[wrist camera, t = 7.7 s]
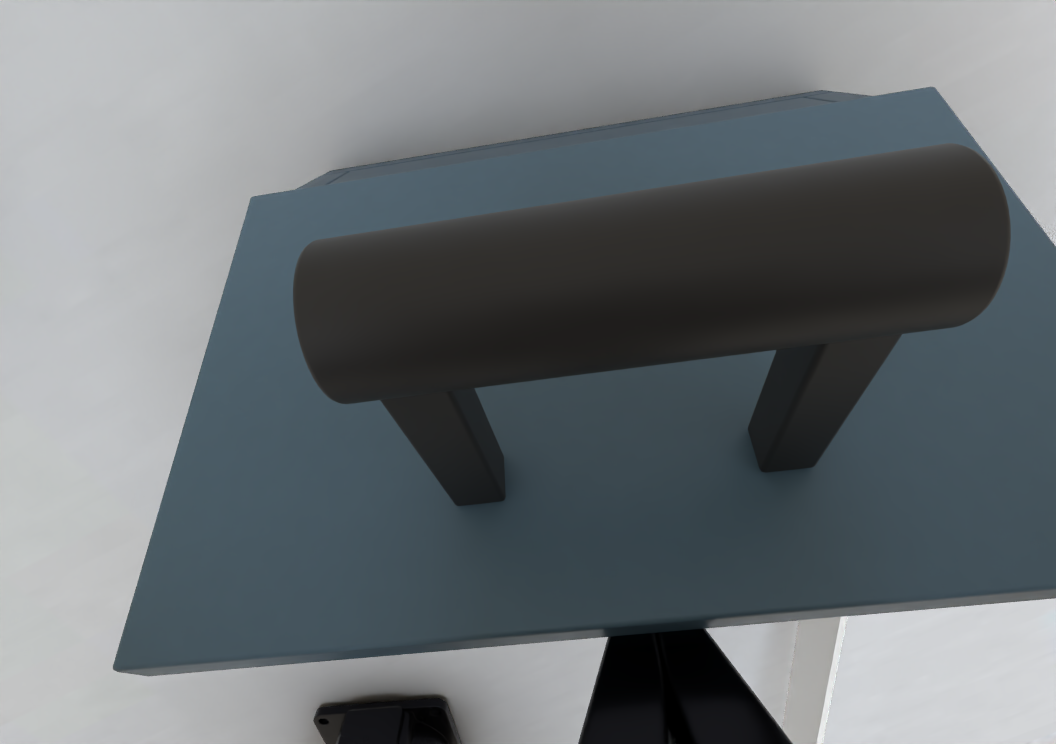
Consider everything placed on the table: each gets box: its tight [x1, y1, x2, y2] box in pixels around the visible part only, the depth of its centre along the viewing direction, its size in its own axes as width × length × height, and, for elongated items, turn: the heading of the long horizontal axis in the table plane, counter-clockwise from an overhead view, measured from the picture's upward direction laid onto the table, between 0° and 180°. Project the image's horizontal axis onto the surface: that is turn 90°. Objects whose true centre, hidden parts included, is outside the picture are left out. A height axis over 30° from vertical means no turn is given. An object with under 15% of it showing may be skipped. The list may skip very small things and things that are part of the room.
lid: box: [113, 87, 1056, 676], centre depth 8 cm, size 9×14×5 cm
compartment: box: [296, 90, 871, 190], centre depth 16 cm, size 8×14×4 cm, turn 99°
